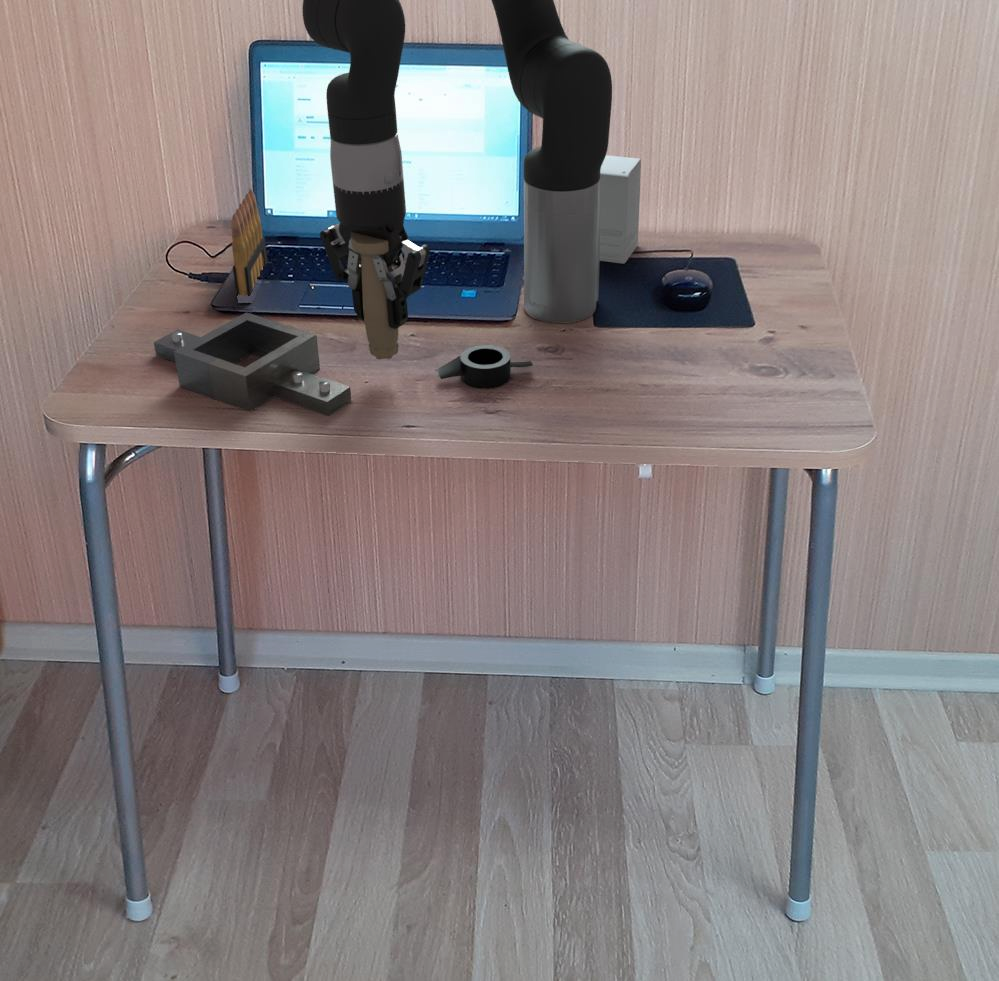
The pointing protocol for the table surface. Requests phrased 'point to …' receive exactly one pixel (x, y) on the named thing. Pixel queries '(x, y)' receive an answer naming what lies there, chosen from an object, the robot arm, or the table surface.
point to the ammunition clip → (247, 245)
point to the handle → (375, 298)
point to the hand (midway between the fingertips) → (381, 320)
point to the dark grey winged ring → (482, 367)
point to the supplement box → (619, 208)
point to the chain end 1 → (215, 349)
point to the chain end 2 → (280, 376)
